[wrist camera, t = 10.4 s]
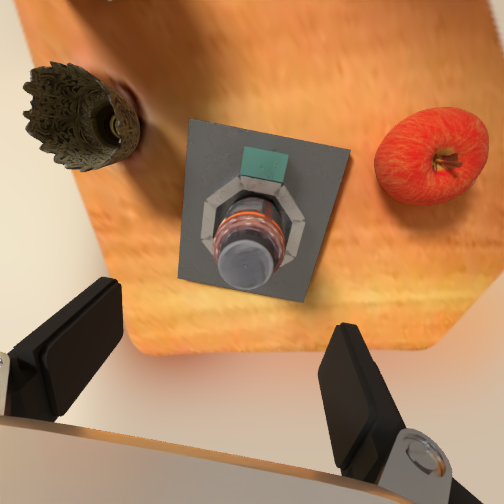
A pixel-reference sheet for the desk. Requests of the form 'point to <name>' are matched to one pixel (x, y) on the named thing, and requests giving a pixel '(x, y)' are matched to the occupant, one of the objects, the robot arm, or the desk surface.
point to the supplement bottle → (249, 243)
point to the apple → (432, 156)
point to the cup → (80, 117)
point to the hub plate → (257, 183)
